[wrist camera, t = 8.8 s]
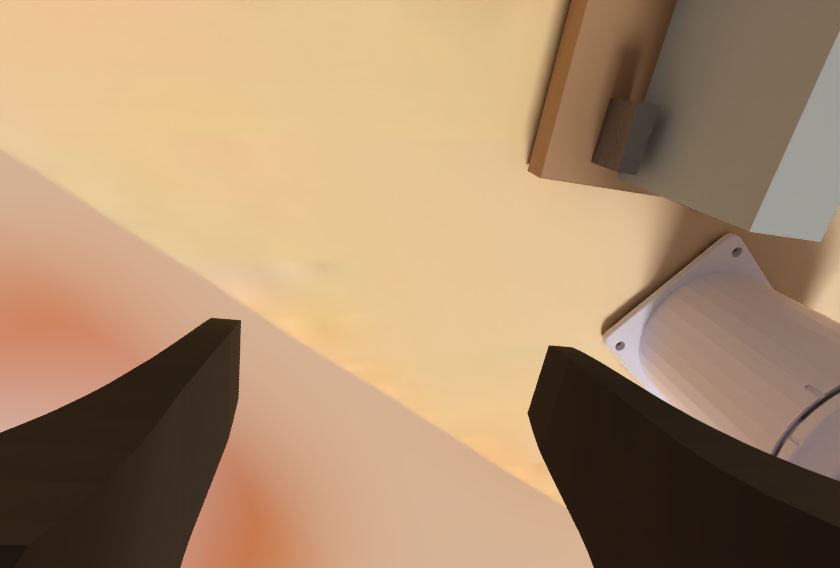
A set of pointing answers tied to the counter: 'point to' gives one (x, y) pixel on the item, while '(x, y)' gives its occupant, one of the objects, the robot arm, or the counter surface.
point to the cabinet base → (596, 84)
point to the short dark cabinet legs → (624, 135)
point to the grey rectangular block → (749, 114)
